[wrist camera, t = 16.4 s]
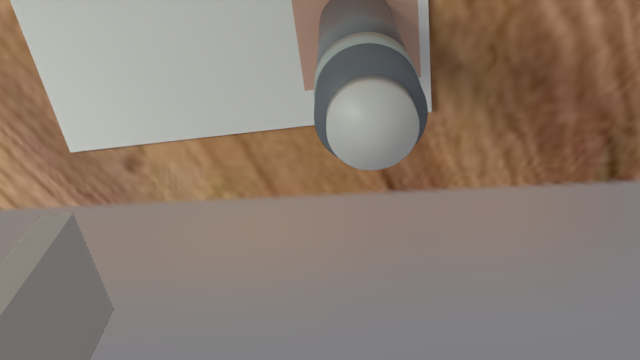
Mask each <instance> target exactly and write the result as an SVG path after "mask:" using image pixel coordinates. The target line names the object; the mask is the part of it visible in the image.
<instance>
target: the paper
mask: <svg viewBox="0 0 640 360" xmlns="http://www.w3.org/2000/svg"><path fill="white" fill-rule="evenodd" d="M329 1H330V0H10V2H11V4H12V7H13V9H14V12H15V14H16V17H17V19H18V22H19V24H20V27H21V29H22V32H23V34H24V37H25V39H26V42H27V44H28V47H29V49H30V52H31V55H32V57H33V60H34V62H35V65H36V67H37V70H38V72H39V75H40V77H41V80H42V82H43V85H44V87H45V90H46V92H47V95H48V97H49V100H50V102H51V105H52V107H53V110H54V112H55V115H56V117H57V120H58V123H59V125H60V128H61V130H62V133H63V135H64V138H65V140H66V143H67V145H68V148H69V150H70V152H79V151H88V150H97V149H105V148H114V147H123V146H132V145H141V144H150V143H159V142H168V141H177V140H185V139H194V138H203V137H212V136H221V135H230V134H239V133H248V132H257V131H265V130H274V129H283V128H292V127H301V126H310V125H315V124H314V104H315V102H314V82H315V73H316V69H317V56H318V40H319V24H320V17H321V14H322V12H323V10H324V8H325V6H326V5H327V3H328V2H329ZM384 1H385V3H386V4H387V5H388V7H389V9H390V11H391V14H392V16H393V19H394V21H395V24H396V26H397V29H398V31H399V33H400V36H401V38H402V41H403V43H404V46H405V48H406V50H407V52H408V54H409V55H410V57H411V59H412V61H413V64H414V66H415V69H416V71H417V73H418V76H419V80H420V85H421V87H422V89H423V92H424V94H425V97H426V101H427V108H428V112H432V108H431V74H430V41H429V8H428V0H384Z"/></svg>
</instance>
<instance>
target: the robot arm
mask: <svg viewBox="0 0 640 360" xmlns="http://www.w3.org/2000/svg"><path fill="white" fill-rule="evenodd" d="M113 310H114V308H113V306H112V304H111V301H110V299H109V296H108V294H107V292H106V289H105V287H104V285H103V283H102V280H101V278H100V275H99V273H98V271H97V268H96V266H95V263H94V262H93V259H92V257H91V254H90V252H89V249H88V247H87V245H86V242H85V240H84V238H83V235H82V233H81V231H80V228H79V226H78V223H77V221H76V219H75V217H74V214H73V213H69V214H60V215H51V216H41V217H38V218H37V219H36V221H35V222H34V223H33V224H32V226H31V227H30V228H29V230H28V231H27V232H26V233H25V235H24V236H23V237H22V238H21V240H20V241H19V242H18V243H17V244H16V246H15V247H14V248H13V250H12V251H11V252H10V253H9V255H8V256H7V257H6V258H5V260H4V261H3V262H2V263H1V265H0V360H90V359H91V357H92V355H93V353H94V351H95V349H96V346H97V344H98V342H99V340H100V338H101V336H102V334H103V332H104V329H105V327H106V325H107V323H108V321H109V319H110V317H111V314H112V312H113Z"/></svg>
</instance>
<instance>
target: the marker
mask: <svg viewBox="0 0 640 360" xmlns="http://www.w3.org/2000/svg"><path fill="white" fill-rule="evenodd" d="M314 102H315V104H314V124H315V128H316V131H317V134H318V136H319V138H320V140H321V142H322V143H323V145H324V146H325V147H326V148H327V149H328V150H329V151H330V152H331V153H332V154H333V155H335V156H336V157H338V158H339V159H341V160H342V161H343V162H345V163H346V164H348V165H350V166H352V167H355V168H358V169H363V170H379V169H384V168H388V167H390V166H393V165H395V164H396V163H398V162H400V161H401V160H402V159H404V158H405V157H406V156H407V155H408V154H409V153H410V151H411V150H412V149H413V147H414V146H415V144H416V143H417V142H418V140H419V139H420V137H421V136H422V134H423V132H424V129H425V126H426V122H427V116H428V108H427V101H426V97H425V94H424V92H423V89H422V87H421V85H420V80H419V76H418V73H417V71H416V69H415V66H414V64H413V61H412V59H411V57H410V55H409V54H408V52H407V50H406V48H405V46H404V43H403V41H402V38H401V36H400V33H399V31H398V29H397V26H396V24H395V21H394V19H393V16H392V14H391V11H390V9H389V7H388V5H387V4H386V3H385V1H384V0H330V1H329V2H328V3H327V5H326V6H325V8H324V10H323V12H322V14H321V17H320V24H319V40H318V56H317V69H316V73H315V82H314Z"/></svg>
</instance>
